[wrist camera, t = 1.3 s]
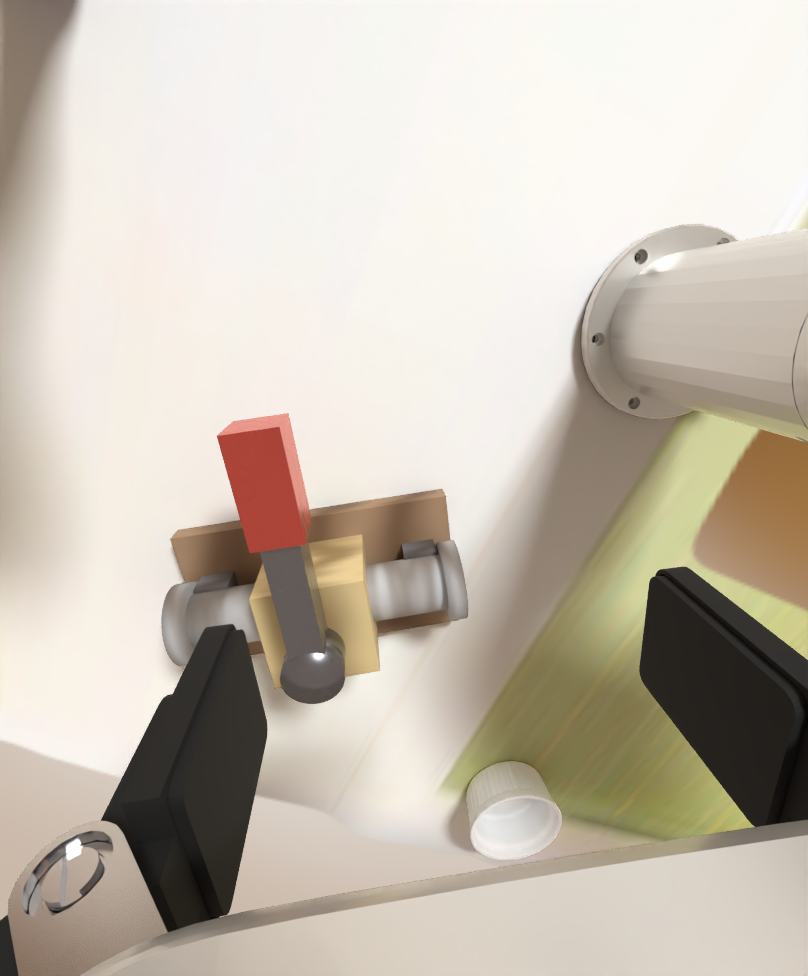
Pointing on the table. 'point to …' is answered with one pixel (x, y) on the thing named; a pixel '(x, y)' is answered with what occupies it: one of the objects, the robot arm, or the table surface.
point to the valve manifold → (324, 579)
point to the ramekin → (511, 812)
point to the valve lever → (284, 550)
